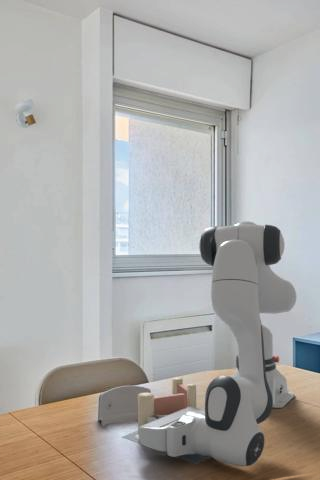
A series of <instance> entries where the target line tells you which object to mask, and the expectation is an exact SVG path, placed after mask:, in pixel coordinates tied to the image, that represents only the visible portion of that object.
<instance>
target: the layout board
mask: <svg viewBox="0 0 320 480" xmlns="http://www.w3.org/2000/svg"><path fill="white" fill-rule="evenodd" d="M121 438H123V439H125V440H128V441H131V442H134V443H137V444H140V445H142V444H141V443H140V441H139V436H138V430H136V431H133V432H130V433H128V434H125V435H122V436H121ZM160 452H161V453H163V454H166V455H168V454H167V451H160ZM176 458H177V459H181V460H183V461H186V462H188V463H191V464H194V465H199V464H200V463H202V462H204V461H205V460H207V459H210V458H212V457H211V456H202V455H199V454H186V455H181V456H177V457H176Z"/></svg>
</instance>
